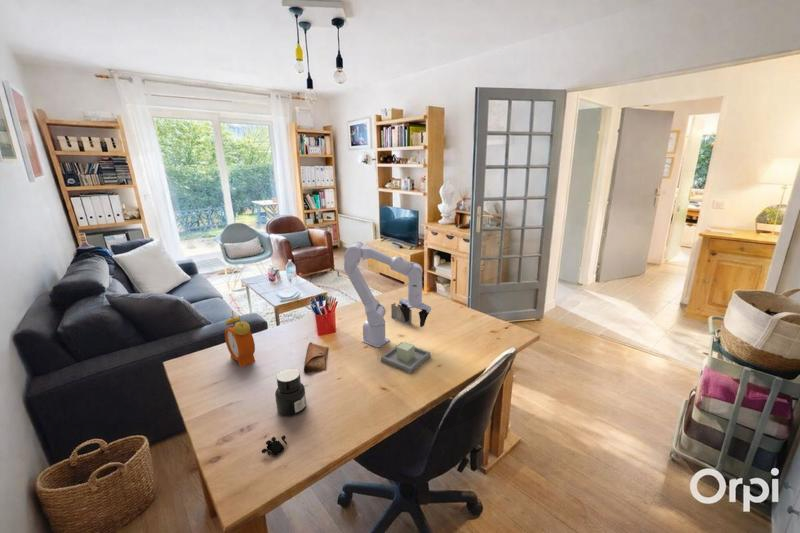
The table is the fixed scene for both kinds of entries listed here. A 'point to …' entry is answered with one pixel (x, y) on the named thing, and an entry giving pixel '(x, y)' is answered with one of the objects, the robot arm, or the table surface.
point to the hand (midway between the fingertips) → (414, 323)
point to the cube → (405, 351)
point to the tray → (402, 365)
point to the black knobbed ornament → (274, 446)
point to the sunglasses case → (315, 358)
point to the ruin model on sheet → (399, 314)
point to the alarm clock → (240, 341)
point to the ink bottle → (290, 393)
